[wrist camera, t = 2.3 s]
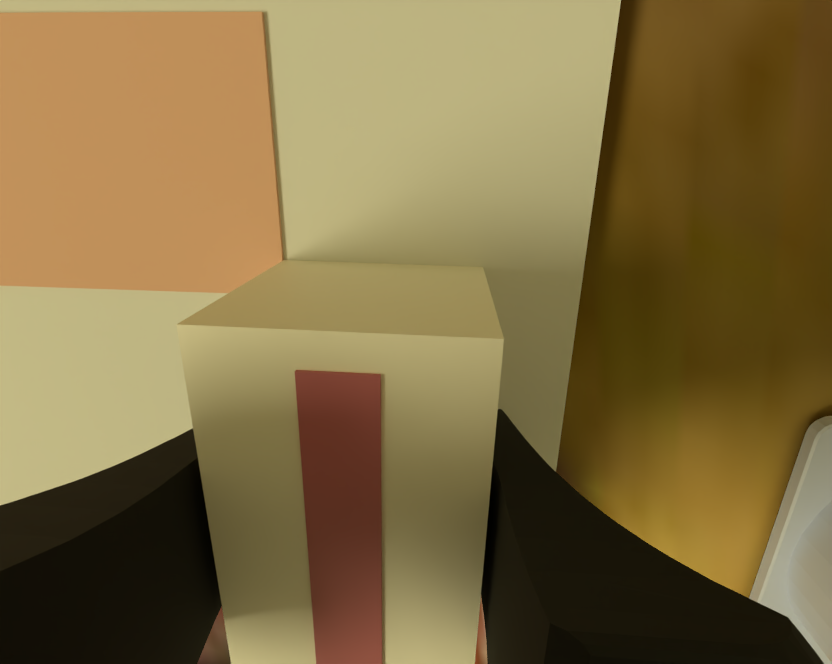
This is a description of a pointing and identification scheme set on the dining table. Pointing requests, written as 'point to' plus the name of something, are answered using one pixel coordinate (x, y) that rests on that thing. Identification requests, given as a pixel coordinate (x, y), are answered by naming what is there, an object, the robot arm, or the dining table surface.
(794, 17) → the dining table surface
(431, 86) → the mat
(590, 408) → the dining table surface
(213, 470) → the card box
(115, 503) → the robot arm
